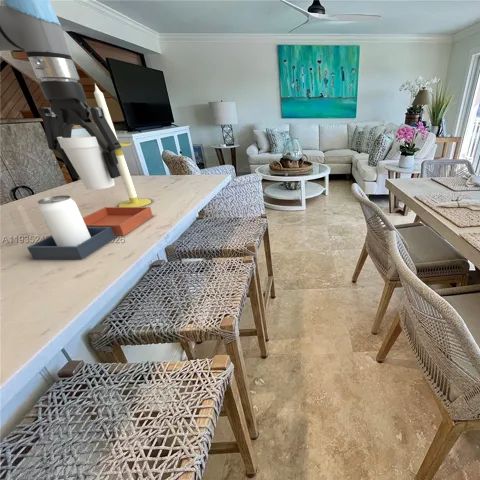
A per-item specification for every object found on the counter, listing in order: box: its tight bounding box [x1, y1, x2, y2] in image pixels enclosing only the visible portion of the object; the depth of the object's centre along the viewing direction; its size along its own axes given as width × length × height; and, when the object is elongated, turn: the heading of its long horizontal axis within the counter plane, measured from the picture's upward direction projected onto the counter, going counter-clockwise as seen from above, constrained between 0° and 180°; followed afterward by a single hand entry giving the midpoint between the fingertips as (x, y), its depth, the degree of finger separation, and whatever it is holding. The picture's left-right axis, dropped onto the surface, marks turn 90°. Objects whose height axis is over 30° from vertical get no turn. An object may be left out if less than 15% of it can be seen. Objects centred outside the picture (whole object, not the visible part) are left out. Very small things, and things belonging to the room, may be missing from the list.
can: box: [37, 194, 91, 246], centre depth 63 cm, size 6×6×12 cm
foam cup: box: [57, 133, 115, 191], centre depth 70 cm, size 10×9×13 cm
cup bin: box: [82, 206, 154, 237], centre depth 77 cm, size 14×14×3 cm
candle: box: [93, 83, 152, 207], centre depth 86 cm, size 10×10×38 cm
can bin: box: [26, 227, 116, 260], centre depth 65 cm, size 11×11×3 cm
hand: (97, 177), depth 72 cm, fingers closed on foam cup, 9 cm apart
